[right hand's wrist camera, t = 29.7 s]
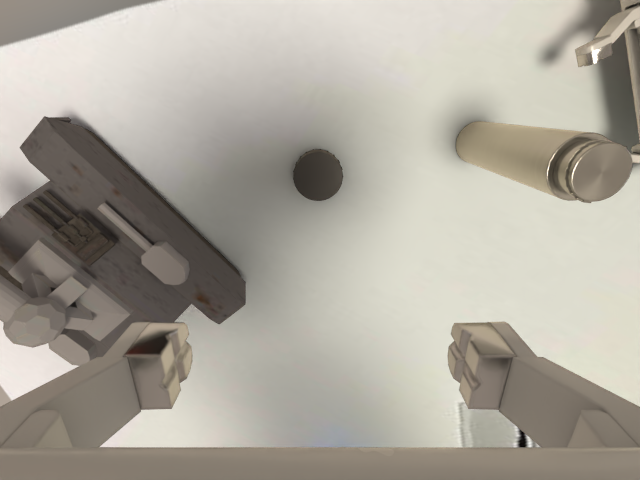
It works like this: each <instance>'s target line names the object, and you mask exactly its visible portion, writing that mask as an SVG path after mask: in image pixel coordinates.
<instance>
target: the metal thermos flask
mask: <svg viewBox="0 0 640 480" xmlns="http://www.w3.org/2000/svg"><path fill="white" fill-rule="evenodd" d="M456 151H457V154H458V155H459V157H460V158H461V159H462V160H464V161H465V162H468V163H471V164H473V165H476V166H478V167H481V168H483V169H486V170H488V171H491V172H494V173H496V174H499V175H501V176H504V177H506V178H509V179H512V180H514V181H517V182H519V183H522V184H524V185H527V186H530V187H532V188H535V189H537V190H540V191H542V192H545V193H548V194H550V195H553V196H555V197H558V198H561V199H563V200H579V201H582V202H586V203H591V202H593V201H601V200H604V199H606V198H609V197H611V196H612V195H614V194H615V193H617V192H618V191H619V190H620V189H621V188H622V187H623V186H624V185H625V183H626V182H627V180H628V179H629V177H630V174H631V171H632V166H633V161H632V156H631V154H630V152H629V151H628V149H627V148H626V147H624V146H623V145H621V144H619V143H615V142H613V141H610V140H609V139H607V138H606V137H605V136H603V135H601V134H597V133H591V132H581V131H571V130H561V129H552V128H542V127H532V126H522V125H512V124H502V123H493V122H483V121H477V122H473V123H470V124H468V125H467V126H466V127H464V128H463V129H462V130H461V132H460V133H459V135H458V137H457V140H456Z"/></svg>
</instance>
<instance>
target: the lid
mask: <svg viewBox="0 0 640 480" xmlns="http://www.w3.org/2000/svg"><path fill="white" fill-rule="evenodd" d="M339 163H340V162H339V160H337V159H336V157H335V156H334V155H332V154H331V153H329V152H328V151H324V150H321V149H320V150H314V149H313V150H312V151H309V152H306V153H305V154H304V155H303V156H302V157H300V159H299V160H298V162H296V167H295V169H294V171H293V172H294V183H295V186H296V188H297V189H298V191H299V192H300V193H301V194H302V195H303V196H304V197H306V198H308V199H311V200H315V201H321V200H326V199H328V198H330V197H332V196H333V195H334V194H335V193H336V192H337V191H338V190H339V188H340V186H341V184H342V178H343V174H342V167H341V166H340V164H339Z"/></svg>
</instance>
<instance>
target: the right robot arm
mask: <svg viewBox="0 0 640 480" xmlns="http://www.w3.org/2000/svg"><path fill="white" fill-rule="evenodd" d="M188 335H189V331H188V327H187V325H186V324H185V323H180V322H135V323H132V324H131V325H130V326H129V327H128V328H127V330H126V331H125V332H124V333H123V334H122V335H121V336H120V338H119V339H118V340H117V341H116V342H115V343H114V344H113V346H112V347H111V348H110V349H109V350H108V351H107V353H106V354H105V355H104V356H103V357H96V358H94V359H93V360H91V361H89V362H87V363H85V364H83V365H81V366H79V367H77V368H75V369H73V370H71V371H69V372H67V373H65V374H63V375H61V376H59V377H57V378H55V379H54V380H52V381H50V382H48V383H46V384H44V385H42V386H40V387H38V388H36V389H34V390H32V391H30V392H28V393H26V394H24V395H22V396H20V397H18V398H16V399H15V400H13V401H11V402H9V403H7V404H5V405H3V406H1V407H0V480H640V407H639V406H637V405H635V404H633V403H631V402H629V401H627V400H625V399H623V398H621V397H619V396H617V395H616V394H614V393H612V392H610V391H608V390H606V389H604V388H602V387H600V386H598V385H596V384H594V383H592V382H590V381H588V380H586V379H584V378H582V377H581V376H579V375H577V374H575V373H573V372H571V371H569V370H567V369H565V368H563V367H561V366H559V365H557V364H555V363H553V362H551V361H549V360H547V359H546V358H544V357H537V356H536V355H535V354H534V353H533V351H532V350H531V349H530V348H529V347H528V346H527V344H526V343H525V342H524V341H523V340H522V339H521V338H520V336H519V335H518V334H517V333H516V332H515V331H514V330H513V328H512V327H511V326H510V325H509V324H508V323H506V322H487V323H454V325H453V327H452V331H451V335H452V337H453V339H454V342H453V343H452V344H451V345H450V346H449V349H448V365H449V369H450V372H451V374H452V376H453V378H454V379H455V380H457V381H458V382H459V383H460V388H459V391H460V393H461V395H462V397H463V399H464V401H465V403H466V405H467V407H468V409H494V410H499V412H501V413H502V414H503V415H504V416H505V417H506V418H508V419H509V420H510V421H511V422H512V423H513V424H515V425H516V426H517V427H518V428H519V429H521V430H522V431H523V432H524V433H525V434H526V435H528V436H529V437H530V438H531V439H532V440H533V441H535V442H536V443H537V444H538V445H539V446H540V447H542V448H378V447H187V448H133V447H100V446H101V445H102V444H103V443H104V442H106V441H107V440H108V439H109V438H110V437H111V436H113V435H114V434H115V433H116V432H117V431H118V430H120V429H121V428H122V427H123V426H124V425H125V424H127V423H128V422H129V421H130V420H131V419H133V418H134V417H135V416H136V415H137V414H138V413H140V412H141V410H145V409H172V407H173V405H174V403H175V401H176V399H177V397H178V395H179V393H180V391H181V388H180V383H181V382H182V381H183V380H185V379H186V378H187V376H188V374H189V372H190V369H191V364H192V348H191V346H190V345H189V344H188V343H187V342H186V339H187V337H188Z"/></svg>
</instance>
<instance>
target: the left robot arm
mask: <svg viewBox="0 0 640 480" xmlns="http://www.w3.org/2000/svg"><path fill="white" fill-rule="evenodd" d="M620 3H621V10H622V12H620V13H618V14H616V15H614V16H612V17H611V18H610V19H609V20H608V21H607V23H606V24H605V25H604V26H603V28H602V29H601V30H600V31H599V33H598V34H597V35H596V36H595V38H594V40H593V41H591V42H589V43H587V44H585V45H583V46H581V47H579V48H577V49H575V52H576V57H577V62H578V67H582V66H588V65H592V64H594V63H597V62H599V61H600V59H605V58H607V57H609V56H611V55H613V51H612V44H613V43H614V42H615V41H616V40H617V39H618V37H619V36H620V35H621V34H622V33H623V32H625V39H626V46H627V53H628V61H629V68H630V75H631V83H632V90H633V97H634V104H635V111H636V119H637V126H638V133H639V141H640V0H620ZM624 147H626V148H627V146H624ZM631 151H632V152H633V153H630V154H631V156H632V161H633V163H640V143H639V144H637V145H635V146H632V148H631Z"/></svg>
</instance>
